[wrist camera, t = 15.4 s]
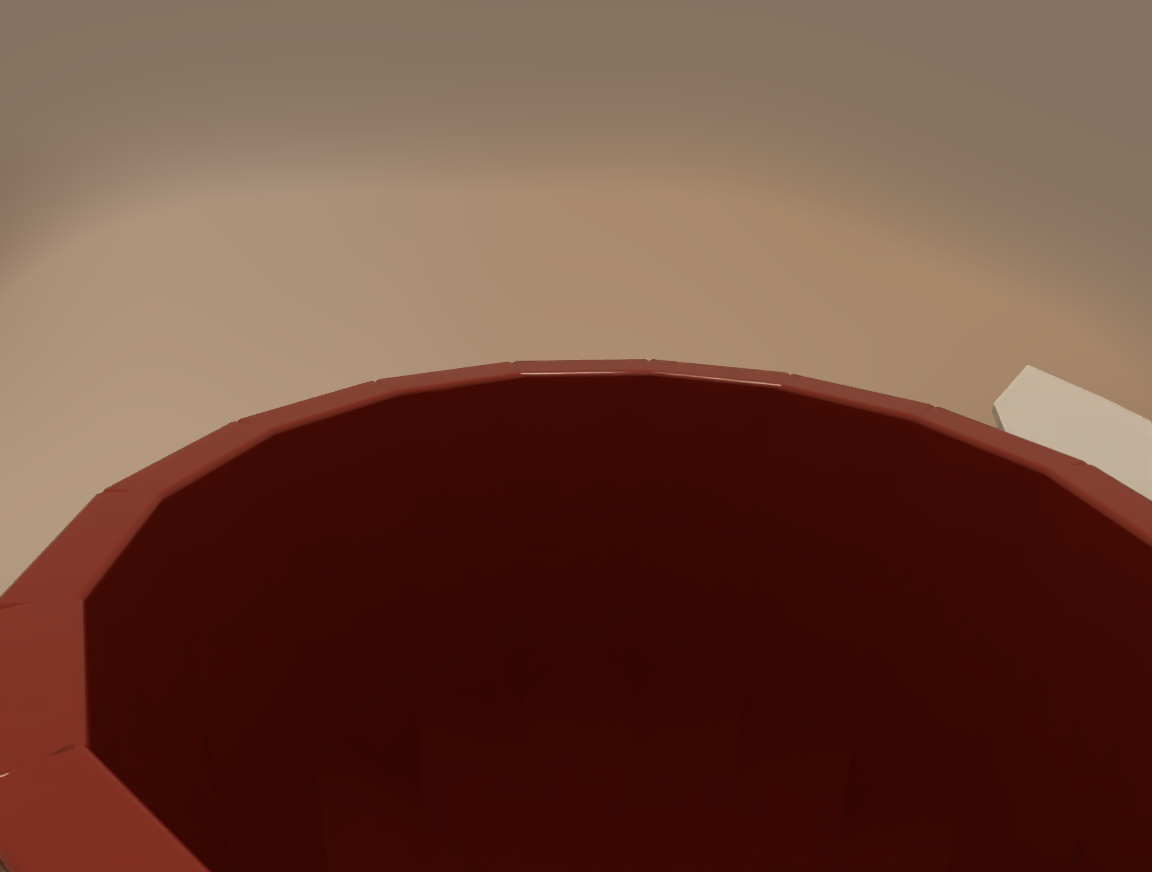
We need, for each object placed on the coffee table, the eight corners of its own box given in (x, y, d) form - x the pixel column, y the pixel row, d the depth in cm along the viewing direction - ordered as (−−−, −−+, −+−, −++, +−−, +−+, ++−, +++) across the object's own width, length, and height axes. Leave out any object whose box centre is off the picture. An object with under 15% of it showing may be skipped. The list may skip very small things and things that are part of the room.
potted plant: (1462, 1416, 18) (2405, 215, 9) (934, 1474, 17) (1376, 212, 8) (1089, 899, 30) (1332, 145, 21) (762, 919, 29) (863, 141, 20)
